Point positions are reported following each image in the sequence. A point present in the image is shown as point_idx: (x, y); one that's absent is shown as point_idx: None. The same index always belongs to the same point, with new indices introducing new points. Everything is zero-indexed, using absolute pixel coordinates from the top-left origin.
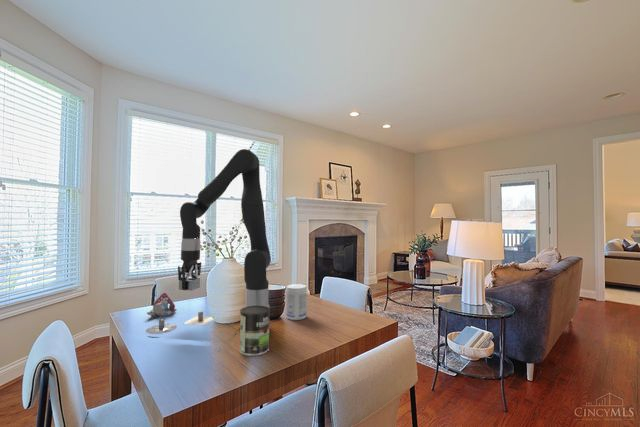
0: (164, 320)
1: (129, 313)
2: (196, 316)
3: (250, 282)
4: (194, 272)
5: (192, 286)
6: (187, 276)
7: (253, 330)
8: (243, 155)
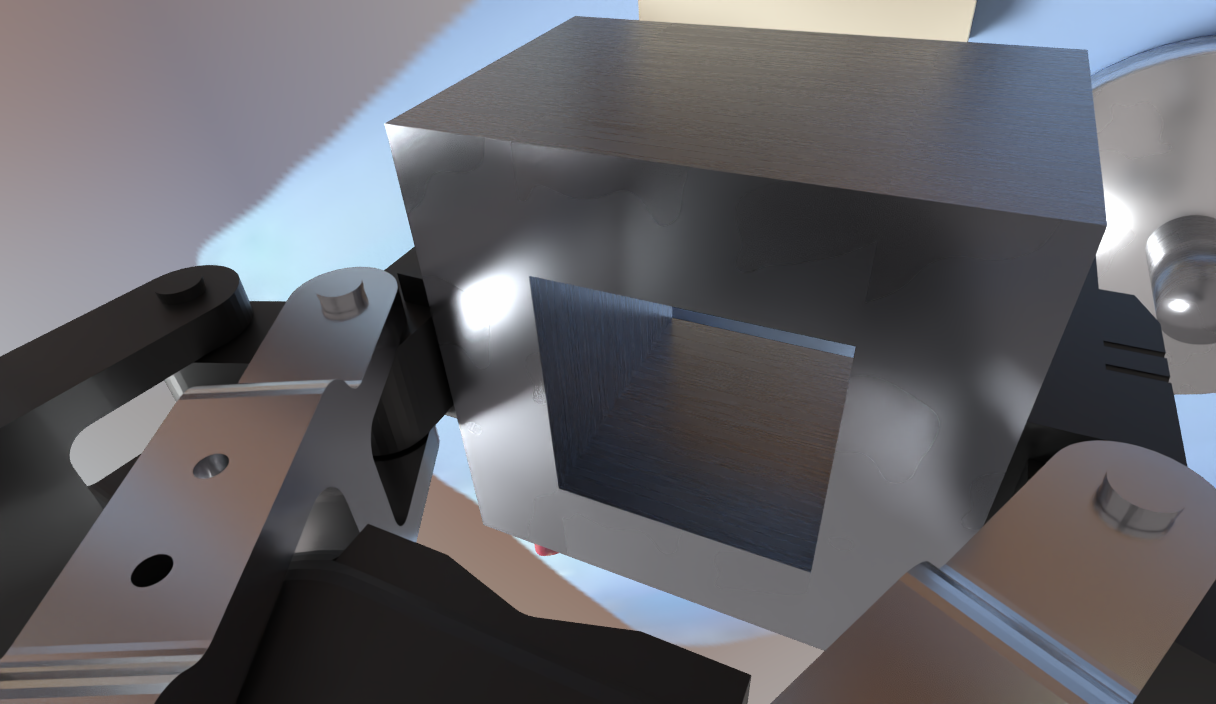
0: (1199, 273)
1: (644, 588)
2: (655, 21)
3: None
4: (342, 491)
5: (1057, 99)
6: (1143, 655)
7: None
8: None
